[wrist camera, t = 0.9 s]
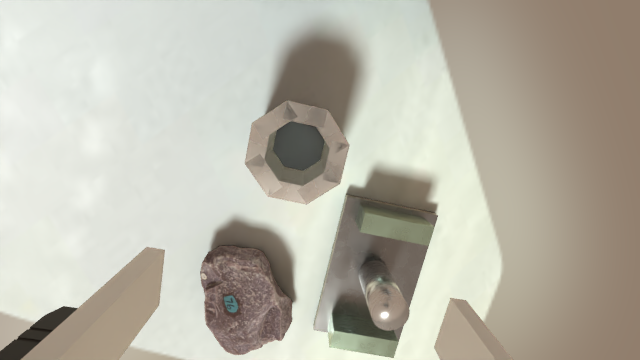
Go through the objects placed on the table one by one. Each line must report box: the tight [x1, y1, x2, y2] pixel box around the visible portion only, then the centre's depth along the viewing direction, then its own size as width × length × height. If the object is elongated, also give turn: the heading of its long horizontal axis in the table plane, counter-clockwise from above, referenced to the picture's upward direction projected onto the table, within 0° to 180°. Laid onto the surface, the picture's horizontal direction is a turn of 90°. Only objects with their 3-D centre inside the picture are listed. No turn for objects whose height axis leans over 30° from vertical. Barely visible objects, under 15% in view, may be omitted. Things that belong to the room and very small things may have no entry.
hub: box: [245, 100, 349, 204], centre depth 30 cm, size 8×8×7 cm
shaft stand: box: [314, 194, 438, 358], centre depth 32 cm, size 16×10×8 cm, turn 167°
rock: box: [200, 246, 292, 355], centre depth 34 cm, size 8×11×5 cm
